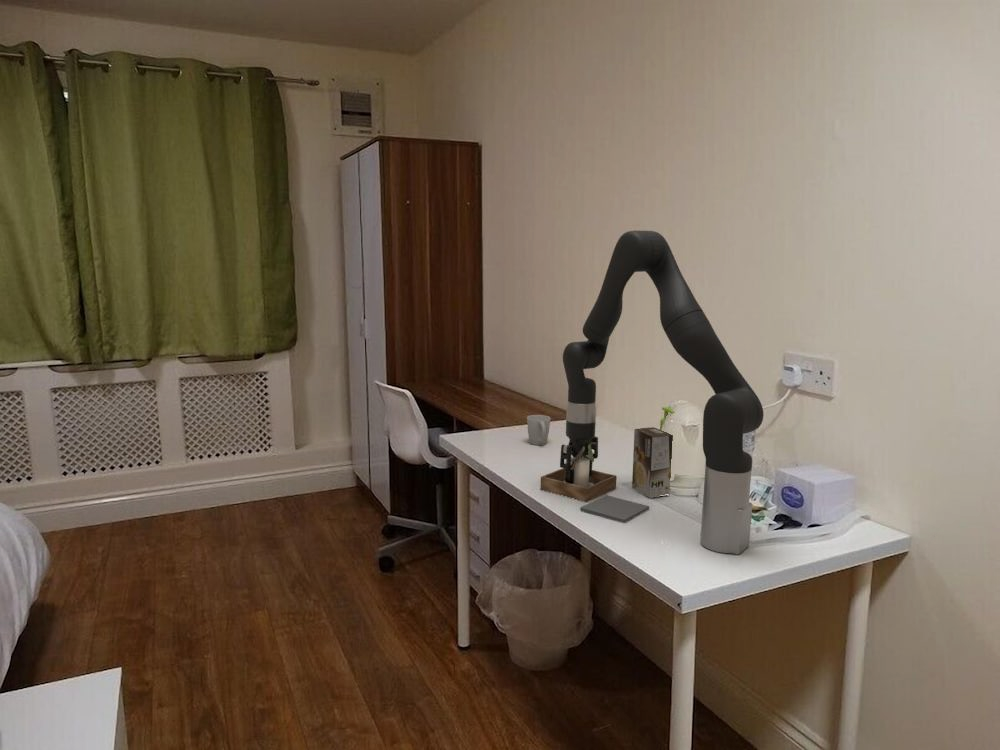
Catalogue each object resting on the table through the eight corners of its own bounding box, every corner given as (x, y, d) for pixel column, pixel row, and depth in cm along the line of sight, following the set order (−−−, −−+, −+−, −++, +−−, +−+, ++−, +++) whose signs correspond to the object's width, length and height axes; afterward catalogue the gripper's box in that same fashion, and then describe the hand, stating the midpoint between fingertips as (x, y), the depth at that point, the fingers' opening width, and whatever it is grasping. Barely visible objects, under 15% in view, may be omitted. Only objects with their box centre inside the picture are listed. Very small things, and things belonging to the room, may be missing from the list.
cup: (545, 439, 235) (546, 414, 234) (555, 447, 226) (555, 421, 224) (523, 440, 233) (524, 415, 232) (531, 448, 224) (532, 422, 222)
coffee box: (670, 496, 182) (674, 435, 179) (649, 498, 180) (652, 436, 177) (651, 485, 191) (654, 426, 188) (630, 487, 188) (633, 428, 186)
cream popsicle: (592, 489, 187) (593, 459, 185) (581, 494, 183) (582, 463, 181) (571, 483, 191) (572, 454, 189) (560, 488, 187) (561, 458, 185)
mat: (649, 509, 172) (649, 506, 172) (624, 523, 163) (624, 519, 163) (606, 497, 180) (606, 494, 180) (580, 510, 171) (580, 507, 171)
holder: (616, 488, 187) (616, 475, 187) (586, 502, 176) (587, 488, 176) (570, 477, 196) (571, 464, 195) (540, 489, 185) (540, 476, 185)
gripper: (578, 426, 175) (575, 489, 178) (608, 416, 186) (605, 476, 189) (552, 421, 180) (551, 482, 183) (583, 412, 191) (581, 470, 194)
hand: (578, 479), depth 186 cm, fingers open, 8 cm apart
